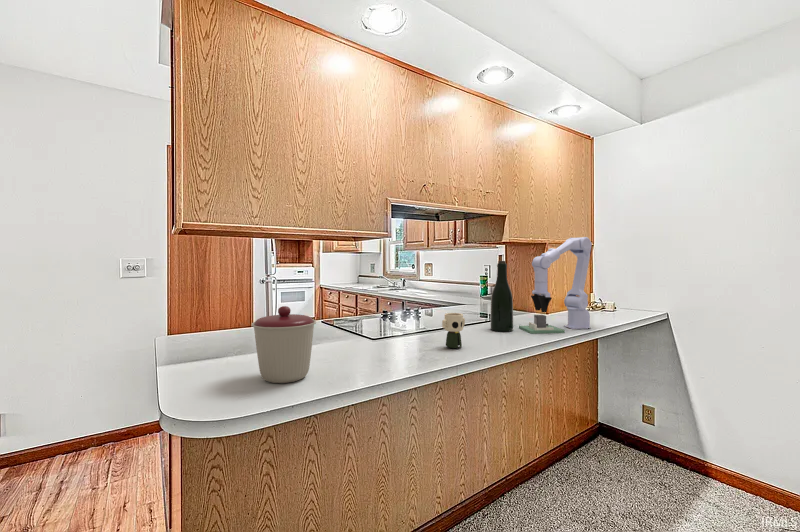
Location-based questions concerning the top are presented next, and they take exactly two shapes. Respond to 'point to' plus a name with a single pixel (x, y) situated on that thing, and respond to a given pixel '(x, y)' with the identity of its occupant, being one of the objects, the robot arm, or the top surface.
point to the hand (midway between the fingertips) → (540, 311)
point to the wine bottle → (501, 302)
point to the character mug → (453, 329)
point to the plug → (540, 321)
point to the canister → (284, 345)
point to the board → (541, 329)
